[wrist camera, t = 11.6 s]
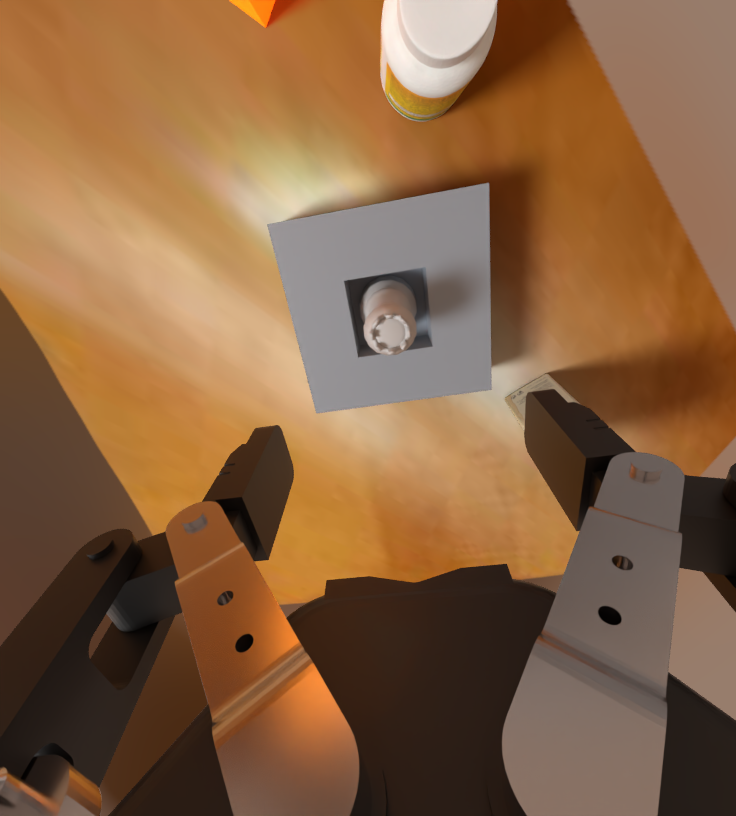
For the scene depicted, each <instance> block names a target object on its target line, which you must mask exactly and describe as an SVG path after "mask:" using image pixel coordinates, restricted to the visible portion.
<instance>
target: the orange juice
mask: <svg viewBox="0 0 736 816" xmlns="http://www.w3.org/2000/svg"><path fill="white" fill-rule="evenodd" d="M229 1H231V2H232V3H233V4H235V5H236V6H237V7H239V8H240V9H241V10H243V11H244V12H245V13H247V14H248V15H249V16H251V17H252V18H253V19H255V20H256V21H257V22H259V23H260V24H261V25H263V26H264V27H265V28H266V26H267V23H268V20H269V17H270V14H271V11H272V9H273V6H274V3H275V0H229Z"/></svg>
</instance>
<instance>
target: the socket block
mask: <svg viewBox="0 0 736 816" xmlns="http://www.w3.org/2000/svg"><path fill="white" fill-rule="evenodd" d="M267 226H268V229H269V233H270V237H271V241H272V245H273V249H274V252H275V256H276V260H277V264H278V268H279V272H280V275H281V279H282V283H283V287H284V291H285V295H286V298H287V302H288V306H289V310H290V314H291V318H292V321H293V325H294V329H295V333H296V337H297V341H298V344H299V348H300V352H301V356H302V360H303V364H304V367H305V371H306V375H307V379H308V383H309V387H310V390H311V394H312V398H313V402H314V406H315V410H316V413H323V412H330V411H338V410H345V409H353V408H360V407H368V406H375V405H382V404H390V403H397V402H405V401H412V400H420V399H427V398H434V397H442V396H449V395H457V394H464V393H471V392H479V391H486V390H492V387H491V301H490V215H489V183H485V184H479V185H474V186H469V187H463V188H458V189H453V190H448V191H442V192H437V193H432V194H426V195H421V196H416V197H410V198H405V199H400V200H394V201H389V202H384V203H378V204H373V205H368V206H362V207H357V208H352V209H346V210H341V211H336V212H331V213H325V214H320V215H315V216H309V217H304V218H299V219H293V220H288V221H283V222H277V223H272V224H267ZM391 275H392V276H395V277H398V278H401V279H403V280H404V281H405V282H407V283H408V284H409V285H410V286H411V287H412V289H413V291H414V294H415V296H416V303H417V312H416V315H415V318H414V319H415V321H416V329H417V334H416V336H415V339H414V342H413V343H412V344H411V346H410V347H409V348H408V349H407V350H406V351H404V352H402V353H399V354H397V355H388V356H387V355H383V354H380V353H377V352H376V351H374V350H373V349H372V348H371V347H369V345H368V343H367V341H366V339H365V337H364V328H363V327H364V322H363V320H362V319H361V317H360V308H359V301H360V297H361V294H362V291H363V290H364V288H365V287H366V286H367V285H368V283H369V282H371V281H373V280H374V279H376V278H378V277H380V276H391Z"/></svg>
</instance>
